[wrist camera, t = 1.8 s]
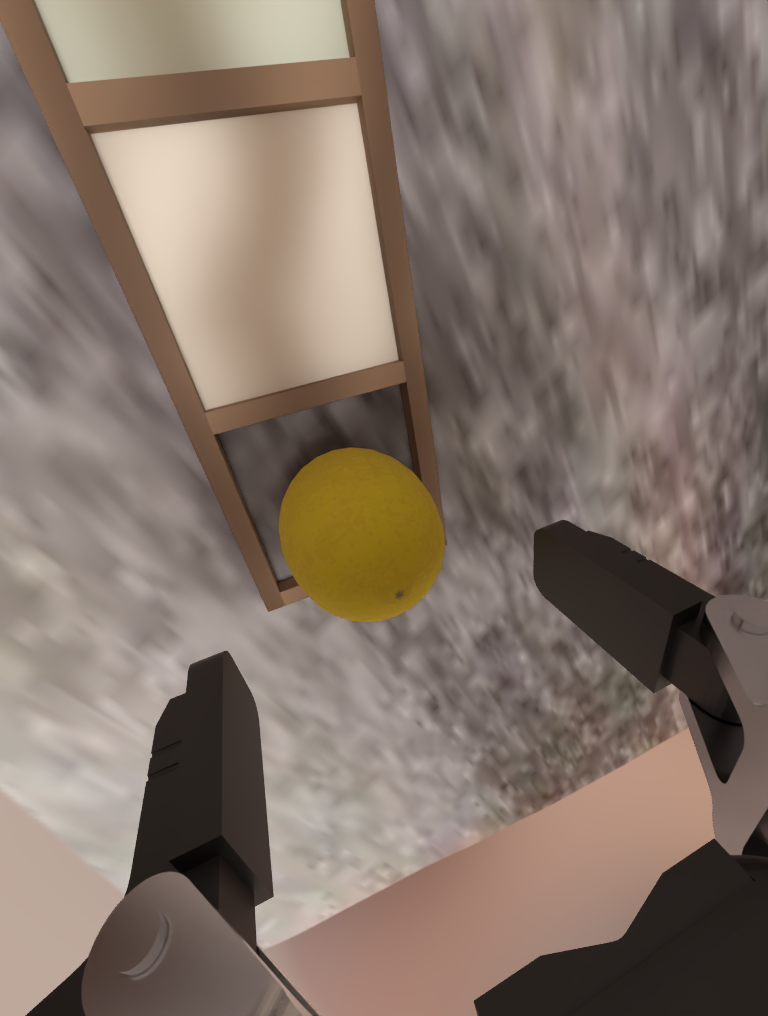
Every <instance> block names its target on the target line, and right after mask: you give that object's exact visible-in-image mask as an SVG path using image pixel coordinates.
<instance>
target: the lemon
mask: <svg viewBox="0 0 768 1016" xmlns="http://www.w3.org/2000/svg"><path fill="white" fill-rule="evenodd" d="M279 534H280V542H281V548H282V553H283V556H284V558H285V560H286V562H287V564H288V566H289V568H290V570H291V573H292V575H293V577H294V578H295V580H296V582H297V583H298V584H299V586H300V587H301V588H302V589H303V590H304V591H305V592H306V593H307V595H308V596H309V597H310V598H311V599H312V600H313V601H314V602H315V603H316V604H317V605H319V606H320V607H321V608H323V609H325V610H327V611H328V612H330V613H332V614H333V615H335V616H338V617H341V618H345V619H348V620H352V621H364V622H375V621H380V620H385V619H389V618H392V617H394V616H397V615H399V614H402V613H403V612H405V611H406V610H408V609H410V608H411V607H413V606H414V605H415V604H416V603H418V602H419V601H420V600H421V599H422V598H423V597H424V596H425V595H426V593H427V592H428V591H429V589H430V588H431V587H432V585H433V584H434V582H435V580H436V577H437V575H438V573H439V571H440V569H441V565H442V560H443V556H444V549H445V545H444V531H443V525H442V522H441V519H440V516H439V513H438V510H437V508H436V505H435V503H434V500H433V498H432V497H431V495H430V493H429V492H428V491H427V489H426V488H425V487H424V485H423V484H422V482H421V481H420V480H419V478H418V477H417V476H416V475H415V474H414V473H413V472H412V471H411V470H410V469H408V468H407V467H406V466H404V465H403V464H402V463H400V462H399V461H397V460H396V459H395V458H393V457H391V456H388V455H386V454H383V453H380V452H377V451H375V450H372V449H364V448H353V447H349V448H343V449H337V450H332V451H330V452H328V453H325V454H323V455H321V456H318V457H316V458H315V459H314V460H312V461H311V462H309V463H308V464H307V465H305V466H304V467H303V468H302V469H301V470H300V471H299V472H298V474H297V475H296V476H295V477H294V479H293V480H292V481H291V483H290V485H289V487H288V489H287V491H286V494H285V496H284V498H283V500H282V504H281V511H280V517H279Z"/></svg>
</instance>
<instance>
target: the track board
mask: <svg viewBox="0 0 768 1016" xmlns="http://www.w3.org/2000/svg"><path fill="white" fill-rule="evenodd" d="M0 21H1V23H2V26H3V28H4V30H5V32H6V34H7V37H8V39H9V41H10V43H11V45H12V48H13V50H14V52H15V54H16V56H17V59H18V61H19V63H20V65H21V67H22V70H23V72H24V74H25V76H26V78H27V81H28V83H29V85H30V87H31V89H32V92H33V94H34V96H35V98H36V100H37V103H38V105H39V107H40V109H41V112H42V114H43V116H44V118H45V120H46V123H47V125H48V127H49V129H50V131H51V134H52V136H53V138H54V140H55V142H56V145H57V147H58V149H59V151H60V153H61V156H62V158H63V160H64V162H65V164H66V167H67V169H68V171H69V173H70V175H71V178H72V180H73V182H74V184H75V187H76V189H77V191H78V193H79V195H80V198H81V200H82V202H83V204H84V206H85V209H86V211H87V213H88V215H89V217H90V220H91V222H92V224H93V226H94V228H95V231H96V233H97V235H98V237H99V239H100V242H101V244H102V246H103V248H104V250H105V253H106V255H107V257H108V259H109V262H110V264H111V266H112V268H113V270H114V273H115V275H116V277H117V279H118V281H119V284H120V286H121V288H122V290H123V292H124V295H125V297H126V299H127V301H128V303H129V306H130V308H131V310H132V312H133V314H134V317H135V319H136V321H137V323H138V325H139V328H140V330H141V332H142V334H143V337H144V339H145V341H146V343H147V345H148V348H149V350H150V352H151V354H152V356H153V359H154V361H155V363H156V365H157V367H158V370H159V372H160V374H161V376H162V378H163V381H164V383H165V385H166V387H167V389H168V392H169V394H170V396H171V398H172V400H173V403H174V405H175V407H176V409H177V412H178V414H179V416H180V418H181V420H182V423H183V425H184V427H185V429H186V431H187V434H188V436H189V438H190V440H191V442H192V445H193V447H194V449H195V451H196V453H197V456H198V458H199V460H200V462H201V464H202V467H203V469H204V471H205V473H206V475H207V478H208V480H209V482H210V484H211V487H212V489H213V491H214V493H215V495H216V498H217V500H218V502H219V504H220V506H221V509H222V511H223V513H224V515H225V517H226V520H227V522H228V524H229V526H230V528H231V531H232V533H233V535H234V537H235V539H236V542H237V544H238V546H239V548H240V550H241V553H242V555H243V557H244V559H245V562H246V564H247V566H248V568H249V570H250V573H251V575H252V577H253V579H254V581H255V584H256V586H257V588H258V590H259V592H260V595H261V597H262V599H263V601H264V603H265V606H266V608H267V610H268V612H269V611H272V610H275V609H277V608H280V607H283V606H285V605H288V604H291V603H293V602H296V601H299V600H301V599H304V598H307V597H309V596H308V595H307V593H306V592H305V591H304V590H303V589H302V588H301V587H300V586H299V584H298V583H297V582H296V580H295V578H294V577H292V578H289V579H287V580H284V581H281V582H278V581H277V578H276V576H275V574H274V571H273V569H272V566H271V564H270V562H269V559H268V557H267V554H266V552H265V550H264V547H263V545H262V542H261V540H260V538H259V535H258V533H257V530H256V528H255V525H254V523H253V521H252V518H251V516H250V513H249V511H248V509H247V506H246V504H245V501H244V499H243V497H242V494H241V492H240V489H239V487H238V485H237V482H236V480H235V477H234V475H233V473H232V470H231V468H230V465H229V463H228V461H227V458H226V456H225V453H224V451H223V449H222V446H221V444H220V441H219V439H218V436H217V434H218V433H222V432H226V431H229V430H233V429H237V428H240V427H244V426H247V425H251V424H255V423H258V422H262V421H266V420H269V419H273V418H277V417H280V416H284V415H288V414H291V413H295V412H298V411H302V410H306V409H309V408H313V407H317V406H320V405H324V404H328V403H331V402H335V401H338V400H342V399H346V398H349V397H353V396H357V395H360V394H364V393H368V392H371V391H375V390H378V389H382V388H386V387H389V386H393V385H397V384H400V387H401V393H402V399H403V405H404V411H405V417H406V423H407V429H408V435H409V441H410V447H411V453H412V459H413V465H414V471H415V475H416V476H417V477H418V478H419V480H420V481H421V482H422V484H423V485H424V487H425V488H426V489H427V491H428V492H429V493H430V495H431V497H432V498H433V500H434V503H435V505H436V508H437V510H438V513H439V516H440V519H441V522H442V525H443V531H444V545H445V546H446V545H447V541H446V533H445V526H444V518H443V511H442V503H441V496H440V488H439V481H438V473H437V466H436V458H435V451H434V443H433V436H432V429H431V421H430V414H429V406H428V399H427V391H426V384H425V376H424V369H423V361H422V354H421V346H420V339H419V331H418V324H417V316H416V309H415V301H414V294H413V287H412V279H411V272H410V264H409V257H408V249H407V242H406V234H405V227H404V219H403V212H402V204H401V197H400V189H399V182H398V174H397V167H396V159H395V152H394V145H393V137H392V130H391V122H390V115H389V107H388V100H387V92H386V85H385V77H384V70H383V62H382V55H381V47H380V40H379V32H378V25H377V17H376V10H375V3H374V0H0Z"/></svg>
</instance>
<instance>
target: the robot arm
mask: <svg viewBox="0 0 768 1016" xmlns="http://www.w3.org/2000/svg"><path fill="white" fill-rule="evenodd" d="M533 574H534V580H535V583H536V586H537V588H538V589H539V591H540V592H541V594H542V595H543V596H544V597H545V598H546V599H547V600H548V601H549V602H551V603H552V604H553V605H554V606H555V607H556V608H557V609H559V610H560V611H561V612H562V613H563V614H564V615H565V616H567V617H568V618H569V619H570V620H571V621H572V622H573V623H575V624H576V625H577V626H578V627H579V628H580V629H581V630H582V631H584V632H585V633H586V634H587V635H588V636H589V637H590V638H592V639H593V640H594V641H595V642H596V643H597V644H598V645H600V646H601V647H602V648H603V649H604V650H605V651H606V652H607V653H609V654H610V655H611V656H612V657H613V658H614V659H615V660H617V661H618V662H619V663H620V664H621V665H622V666H623V667H625V668H626V669H627V670H628V671H629V672H630V673H631V674H633V675H634V676H635V677H636V678H637V679H638V680H639V681H640V682H642V683H643V684H644V685H645V686H646V687H647V688H648V689H650V690H651V691H652V692H653V693H655V692H657V691H659V690H661V689H663V688H664V687H666V686H668V685H670V684H673V685H674V686H676V687H677V688H678V689H679V690H680V694H679V700H680V704H681V707H682V710H683V713H684V716H685V718H686V721H687V724H688V727H689V730H690V733H691V736H692V738H693V741H694V744H695V747H696V750H697V753H698V756H699V759H700V762H701V764H702V767H703V770H704V773H705V776H706V779H707V782H708V785H709V788H710V791H711V796H712V804H713V812H712V816H713V827H714V833H715V838H716V840H715V839H713V840H711V841H710V842H708V843H707V844H705V845H704V846H702V847H701V848H699V849H698V850H696V851H695V852H693V853H692V854H690V855H689V856H688V857H686V858H684V859H683V860H682V861H680V862H678V863H677V864H676V865H674V866H673V867H671V868H670V869H668V870H667V871H665V872H664V873H662V875H661V876H660V878H659V880H658V881H657V883H656V885H655V886H654V888H653V890H652V891H651V893H650V894H649V896H648V898H647V899H646V901H645V903H644V904H643V906H642V908H641V909H640V911H639V912H638V914H637V916H636V917H635V919H634V921H633V922H632V924H631V925H630V927H629V928H628V930H627V932H626V933H625V934H624V936H623V937H622V938H620V939H619V940H617V941H614V942H609V943H604V944H599V945H594V946H589V947H583V948H578V949H573V950H568V951H563V952H558V953H552V954H547V955H542V956H540V957H538V958H537V959H535V960H534V961H532V962H531V963H529V964H528V965H526V966H525V967H523V968H522V969H520V970H519V971H517V972H516V973H514V974H513V975H511V976H510V977H508V978H507V979H506V980H504V981H503V982H501V983H500V984H498V985H497V986H495V987H494V988H492V989H491V990H489V991H488V992H486V993H485V994H483V995H482V996H480V997H479V998H477V999H476V1000H474V1004H475V1008H476V1011H477V1015H478V1016H768V602H766V601H763V600H760V599H757V598H753V597H749V596H743V595H722V596H718V597H715V596H713V595H711V594H709V593H707V592H705V591H704V590H702V589H700V588H698V587H697V586H695V585H693V584H691V583H690V582H688V581H686V580H684V579H683V578H681V577H679V576H677V575H676V574H674V573H672V572H670V571H669V570H667V569H665V568H663V567H662V566H660V565H658V564H657V563H655V562H653V561H651V560H647V559H646V557H644V556H643V555H641V554H639V553H637V552H636V551H631V550H630V548H629V547H627V546H625V545H623V544H622V543H620V542H618V541H616V540H615V539H613V538H611V537H608V536H604V535H601V534H598V533H594V532H591V531H587V532H586V531H584V530H583V529H581V528H579V527H577V526H576V525H574V524H572V523H571V522H569V521H566V520H561V521H558V522H556V523H553V524H551V525H548V526H546V527H543V528H540V529H538V530H537V531H536V532H535V534H534V570H533ZM151 753H152V758H150V764H149V769H148V775H147V776H148V781H147V782H146V787H145V793H144V799H143V805H142V811H141V816H140V822H139V828H138V834H137V840H136V846H135V852H134V858H133V864H132V869H131V875H130V880H129V884H128V888H127V891H126V894H125V897H124V898H123V899H122V901H121V902H120V903H119V904H118V905H117V906H116V907H115V909H114V910H113V911H112V913H111V914H110V915H109V917H108V918H107V920H106V922H105V923H104V925H103V926H102V928H101V930H100V932H99V934H98V935H97V937H96V940H95V941H94V944H93V946H92V949H91V951H90V953H89V956H88V958H87V959H86V960H85V961H84V962H83V963H82V964H81V966H79V968H77V969H76V970H75V971H74V972H73V973H72V974H71V975H70V976H69V977H68V978H67V979H66V980H65V981H63V982H62V983H61V984H60V985H59V986H58V987H57V988H56V989H55V990H53V992H51V993H50V994H49V995H48V996H47V997H46V998H45V999H43V1000H42V1001H41V1002H40V1003H39V1004H38V1005H37V1006H36V1007H34V1008H33V1009H32V1010H31V1011H30V1012H29V1013H28V1014H27V1015H26V1016H321V1015H320V1014H319V1013H318V1012H317V1010H316V1009H315V1008H314V1007H313V1006H312V1005H311V1004H310V1003H309V1001H308V1000H307V999H306V998H305V997H304V996H303V995H302V994H301V992H299V990H298V989H297V988H296V987H295V986H294V985H293V984H292V982H291V981H290V980H289V979H288V978H287V977H286V976H285V975H284V973H283V972H282V971H281V970H280V969H279V968H278V967H277V966H276V964H275V963H274V962H273V961H272V960H271V959H270V958H269V957H268V956H267V954H266V953H265V952H264V951H263V950H262V949H261V948H260V946H259V945H258V944H257V943H256V924H255V906H257V905H259V904H261V903H263V902H264V901H266V900H268V899H270V898H272V897H274V895H273V883H272V871H271V859H270V847H269V835H268V823H267V811H266V799H265V787H264V775H263V763H262V751H261V739H260V727H259V717H258V712H257V708H256V704H255V701H254V698H253V695H252V693H251V691H250V689H249V688H248V686H247V684H246V682H245V680H244V678H243V677H242V675H241V673H240V671H239V669H238V667H237V666H236V664H235V662H234V660H233V658H232V657H231V655H230V653H229V652H228V651H223V652H221V653H218V654H216V655H213V656H211V657H208V658H206V659H203V660H200V661H198V662H195V663H193V664H191V665H190V667H189V670H188V679H187V688H186V693H185V694H182V695H180V696H177V697H175V698H172V699H170V701H169V703H168V704H167V706H166V708H165V710H164V712H163V714H162V716H161V717H160V719H159V721H158V723H157V725H156V728H155V734H154V740H153V746H152V752H151Z"/></svg>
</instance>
